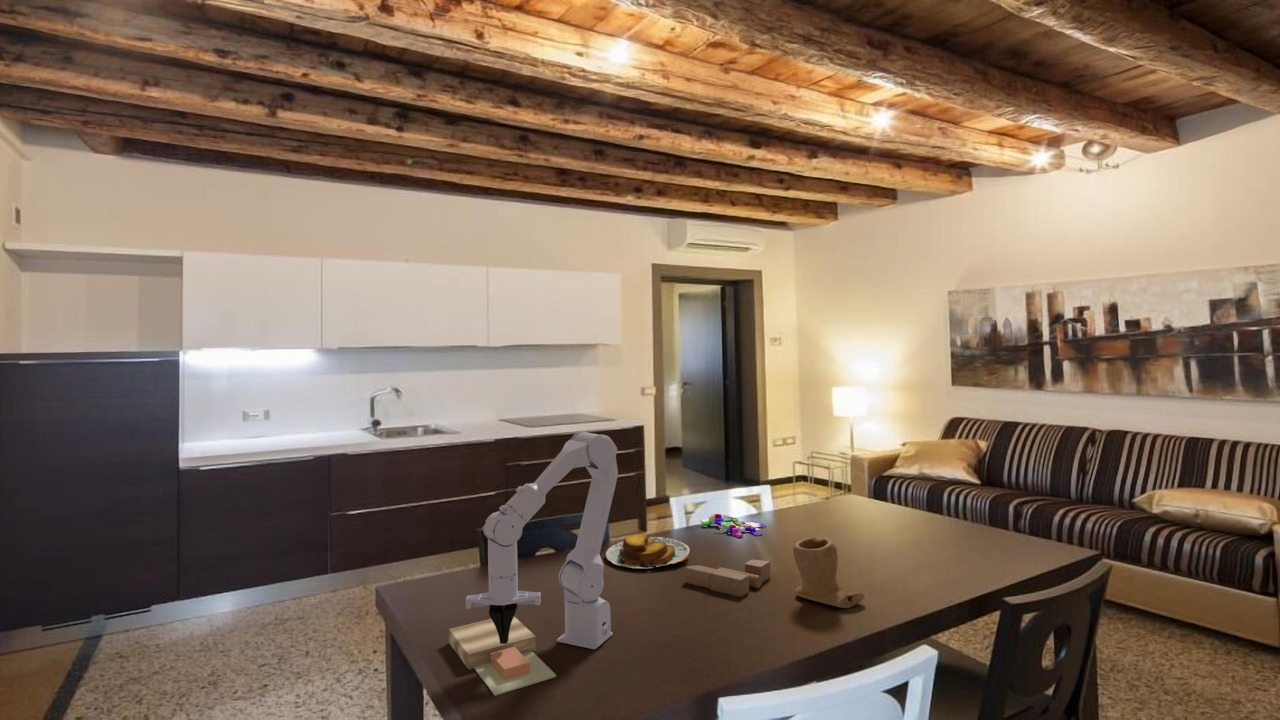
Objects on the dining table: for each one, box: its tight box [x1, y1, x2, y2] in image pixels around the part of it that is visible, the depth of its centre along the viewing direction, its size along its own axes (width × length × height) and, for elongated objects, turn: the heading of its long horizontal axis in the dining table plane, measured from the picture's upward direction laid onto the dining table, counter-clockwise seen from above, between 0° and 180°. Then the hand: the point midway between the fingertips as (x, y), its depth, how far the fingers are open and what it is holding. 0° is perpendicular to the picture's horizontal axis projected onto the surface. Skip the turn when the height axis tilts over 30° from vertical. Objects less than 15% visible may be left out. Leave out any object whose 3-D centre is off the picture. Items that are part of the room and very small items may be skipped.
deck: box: [448, 616, 537, 671], centre depth 132 cm, size 14×14×3 cm
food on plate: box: [605, 533, 691, 570], centre depth 189 cm, size 25×25×7 cm
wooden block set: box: [684, 559, 772, 598], centre depth 168 cm, size 17×6×18 cm
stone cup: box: [793, 537, 865, 609], centre depth 153 cm, size 15×12×15 cm
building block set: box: [699, 513, 767, 538], centre depth 221 cm, size 25×20×4 cm
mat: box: [473, 651, 557, 697], centre depth 121 cm, size 12×12×1 cm
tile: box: [490, 647, 530, 680], centre depth 122 cm, size 8×5×2 cm, turn 32°
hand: (504, 641), depth 125 cm, fingers closed
